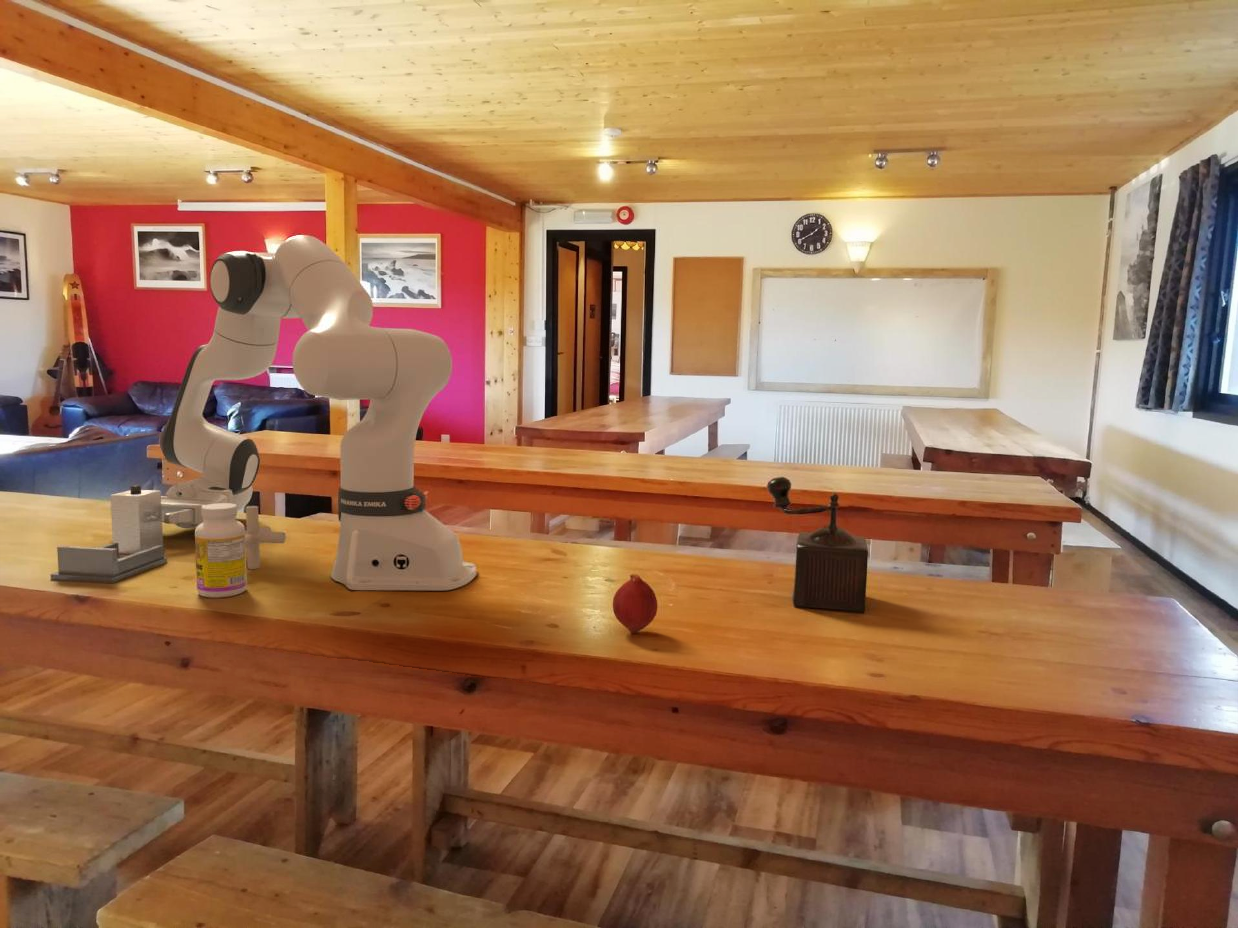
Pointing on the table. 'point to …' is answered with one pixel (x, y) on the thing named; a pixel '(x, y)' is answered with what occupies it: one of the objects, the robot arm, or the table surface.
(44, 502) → the table surface
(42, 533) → the table surface
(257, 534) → the pipe connector
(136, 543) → the block
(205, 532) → the supplement bottle
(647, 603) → the onion
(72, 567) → the tray
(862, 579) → the manual coffee grinder
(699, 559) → the table surface
